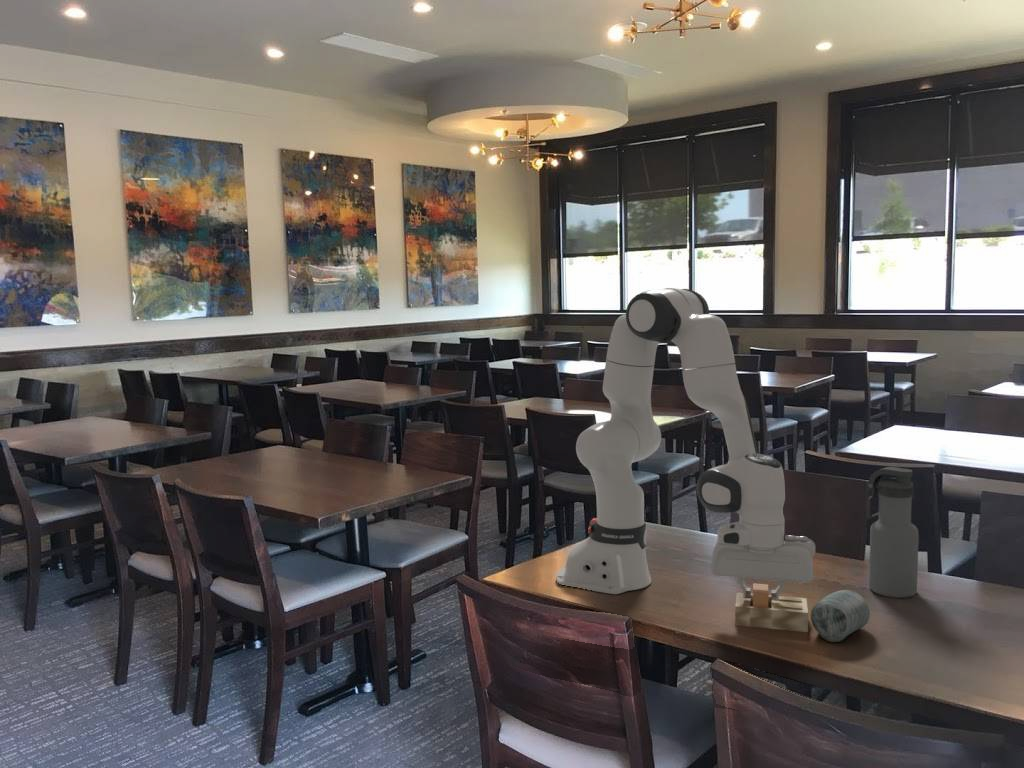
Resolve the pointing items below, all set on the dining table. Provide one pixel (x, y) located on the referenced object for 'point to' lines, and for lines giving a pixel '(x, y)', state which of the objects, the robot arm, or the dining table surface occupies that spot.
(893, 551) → the water bottle
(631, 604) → the dining table surface
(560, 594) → the dining table surface
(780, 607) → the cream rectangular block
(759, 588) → the orange rectangular block
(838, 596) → the spool
